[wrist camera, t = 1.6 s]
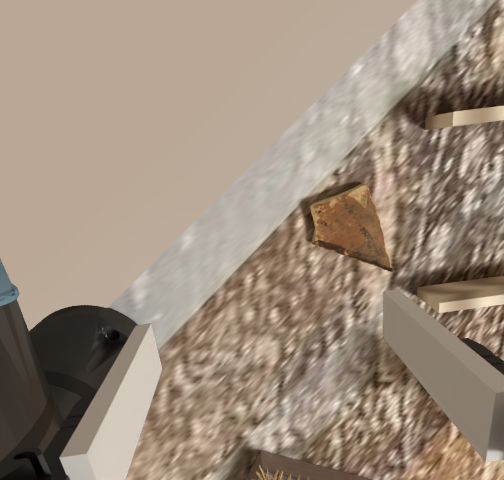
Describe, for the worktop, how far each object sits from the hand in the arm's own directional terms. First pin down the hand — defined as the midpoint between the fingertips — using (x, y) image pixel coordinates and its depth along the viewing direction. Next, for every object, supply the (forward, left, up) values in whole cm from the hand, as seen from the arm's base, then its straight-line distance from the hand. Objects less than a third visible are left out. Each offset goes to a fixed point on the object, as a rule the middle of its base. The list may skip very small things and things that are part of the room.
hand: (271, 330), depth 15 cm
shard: (+12, 0, -19) cm, 22 cm away
